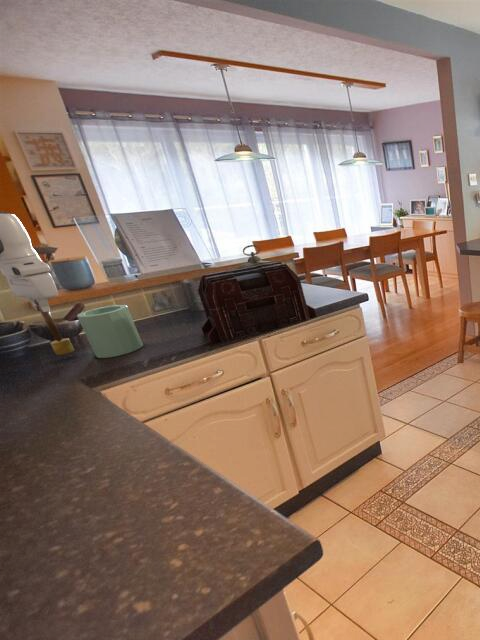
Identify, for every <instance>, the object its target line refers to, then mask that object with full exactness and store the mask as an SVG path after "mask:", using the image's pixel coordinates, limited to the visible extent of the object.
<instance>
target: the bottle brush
mask: <svg viewBox="0 0 480 640" xmlns="http://www.w3.org/2000/svg"><path fill="white" fill-rule="evenodd" d="M34 303H35V304H36V305H37V306H38V308H39V303H38V302H37V300H36V299H35V300H34ZM39 310H40V308H39ZM39 312H40V315H41V317H42V319H43V320H44V322H45V324H46V326H47V328H48V330H49V331H50V334H51V335H52V337H53V340H52V341H51V342H50V346H51V348H52V350H53V352H54V354H55V355H56V356H61V355H67V354H70V353H73V352H74V351H75V348H74V346H73V344H72V342H71V340H70V338H68V337H66V338H63V336H62V334H61V332H60V330H59V329H58V326H57V324H56V322H55V320H54V318H53V316H52V314H51V312H50V311H47V312H42V311H41V310H40V311H39Z"/></svg>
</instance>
